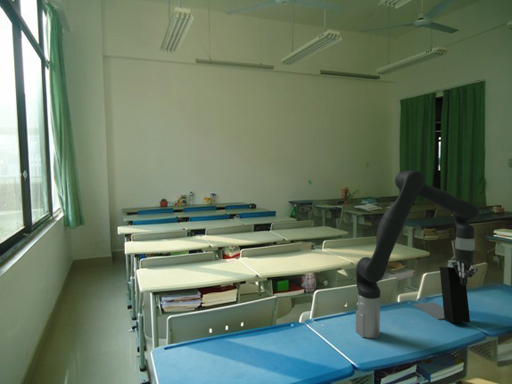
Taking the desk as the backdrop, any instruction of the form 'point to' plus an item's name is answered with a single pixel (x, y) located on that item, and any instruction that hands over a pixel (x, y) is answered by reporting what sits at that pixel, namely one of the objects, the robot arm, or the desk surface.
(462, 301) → the black rectangular bar
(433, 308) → the rubber mat
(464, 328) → the desk surface
